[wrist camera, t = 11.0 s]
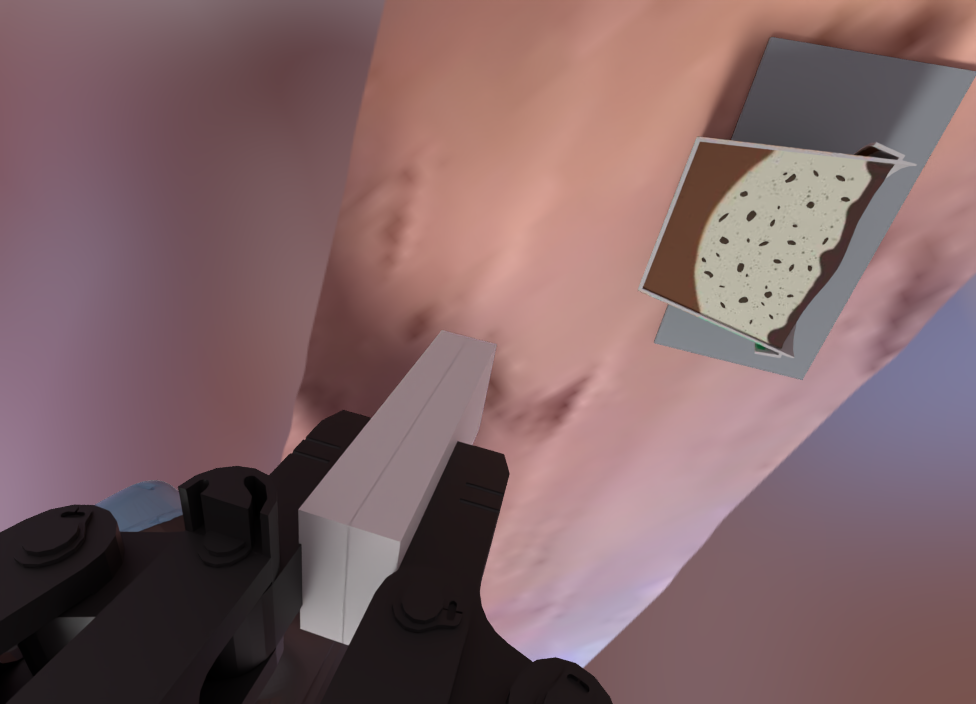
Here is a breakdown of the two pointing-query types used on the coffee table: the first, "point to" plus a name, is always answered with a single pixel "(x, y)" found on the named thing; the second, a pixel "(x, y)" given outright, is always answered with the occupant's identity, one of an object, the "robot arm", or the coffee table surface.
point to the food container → (761, 233)
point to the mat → (840, 129)
